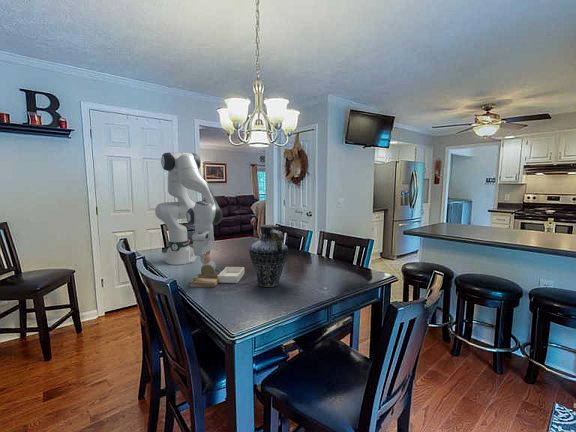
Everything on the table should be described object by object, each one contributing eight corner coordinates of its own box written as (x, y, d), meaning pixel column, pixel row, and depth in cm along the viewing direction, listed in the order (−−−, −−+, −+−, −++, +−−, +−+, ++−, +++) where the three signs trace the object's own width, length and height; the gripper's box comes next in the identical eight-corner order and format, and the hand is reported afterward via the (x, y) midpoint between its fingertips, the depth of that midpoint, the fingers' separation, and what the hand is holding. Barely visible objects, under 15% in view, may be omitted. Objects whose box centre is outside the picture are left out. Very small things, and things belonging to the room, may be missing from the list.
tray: (198, 278, 160) (198, 274, 159) (222, 279, 159) (222, 275, 158) (188, 286, 147) (188, 282, 146) (214, 287, 146) (214, 283, 146)
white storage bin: (226, 272, 169) (226, 267, 169) (244, 273, 169) (244, 267, 168) (217, 282, 153) (217, 275, 153) (237, 283, 152) (237, 276, 152)
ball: (202, 262, 154) (202, 252, 154) (212, 262, 154) (211, 252, 153) (199, 264, 149) (198, 255, 149) (208, 265, 149) (208, 255, 148)
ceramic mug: (200, 277, 161) (200, 263, 160) (202, 273, 169) (202, 259, 168) (220, 277, 163) (220, 263, 162) (221, 272, 171) (221, 259, 170)
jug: (242, 284, 151) (240, 225, 148) (270, 275, 164) (270, 221, 161) (268, 294, 136) (268, 229, 133) (298, 284, 150) (298, 225, 146)
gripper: (205, 230, 160) (206, 255, 162) (190, 237, 140) (191, 265, 141) (217, 230, 160) (217, 255, 161) (203, 237, 140) (204, 265, 141)
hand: (205, 260), depth 151 cm, fingers closed on ball, 5 cm apart
